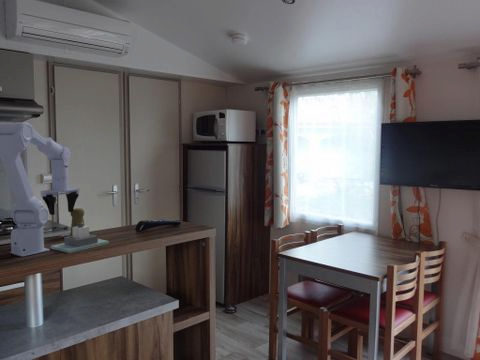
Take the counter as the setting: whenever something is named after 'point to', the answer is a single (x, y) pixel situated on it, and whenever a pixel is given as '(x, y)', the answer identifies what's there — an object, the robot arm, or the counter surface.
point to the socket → (79, 244)
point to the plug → (80, 231)
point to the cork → (76, 218)
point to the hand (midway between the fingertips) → (61, 213)
